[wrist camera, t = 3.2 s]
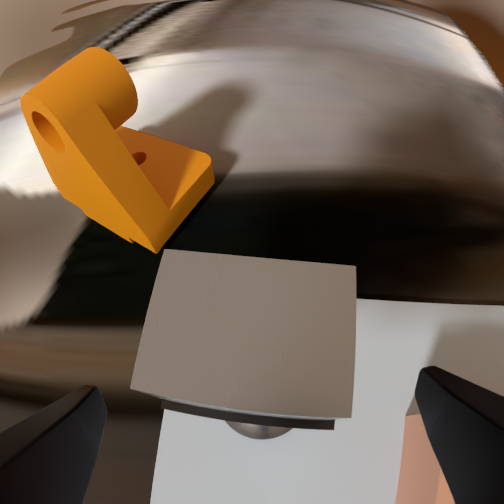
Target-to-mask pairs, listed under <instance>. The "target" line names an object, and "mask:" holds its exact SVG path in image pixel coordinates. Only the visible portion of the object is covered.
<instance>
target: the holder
mask: <svg viewBox="0 0 504 504" xmlns="http://www.w3.org/2000/svg"><path fill="white" fill-rule="evenodd" d="M395 504H455V502H454V499H453V496H452V494H451V491H450V489H449V486H448V484H447V482H446V479H445V477H444V474H443V472H442V469H441V467H440V465H439V462H438V460H437V458H436V455H435V453H434V451H433V449H432V446H431V444H430V442H429V439H428V436H427V433H426V430H425V427H424V424H423V421H422V417H421V414H417V415H410V416H405V423H404V436H403V447H402V457H401V466H400V474H399V481H398V488H397V494H396V500H395Z"/></svg>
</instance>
